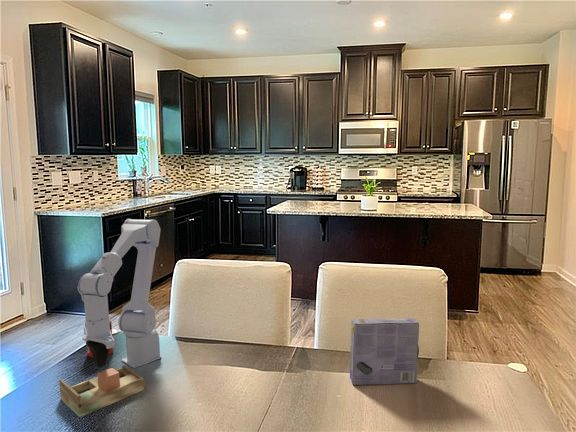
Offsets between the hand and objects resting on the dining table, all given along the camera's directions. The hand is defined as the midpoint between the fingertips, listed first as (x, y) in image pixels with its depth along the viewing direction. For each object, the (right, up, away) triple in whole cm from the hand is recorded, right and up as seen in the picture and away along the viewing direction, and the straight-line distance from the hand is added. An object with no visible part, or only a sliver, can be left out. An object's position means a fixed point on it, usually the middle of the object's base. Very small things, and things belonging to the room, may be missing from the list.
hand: (101, 365), depth 118 cm
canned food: (-10, -4, +23) cm, 25 cm away
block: (+3, -5, -2) cm, 6 cm away
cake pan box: (+78, -6, +4) cm, 78 cm away
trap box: (+1, -7, -2) cm, 7 cm away
